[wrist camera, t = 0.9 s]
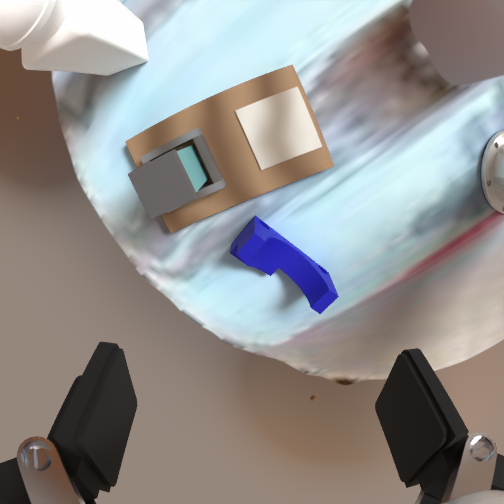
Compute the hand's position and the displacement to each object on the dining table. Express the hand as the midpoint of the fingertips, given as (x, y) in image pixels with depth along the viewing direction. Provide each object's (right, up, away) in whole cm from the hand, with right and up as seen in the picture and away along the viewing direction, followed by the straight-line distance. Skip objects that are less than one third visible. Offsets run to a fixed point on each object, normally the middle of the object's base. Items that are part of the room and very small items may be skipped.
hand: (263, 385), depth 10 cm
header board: (-3, +16, +23) cm, 28 cm away
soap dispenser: (-15, +28, +18) cm, 37 cm away
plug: (-8, +13, +23) cm, 28 cm away
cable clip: (+3, +4, +29) cm, 30 cm away
